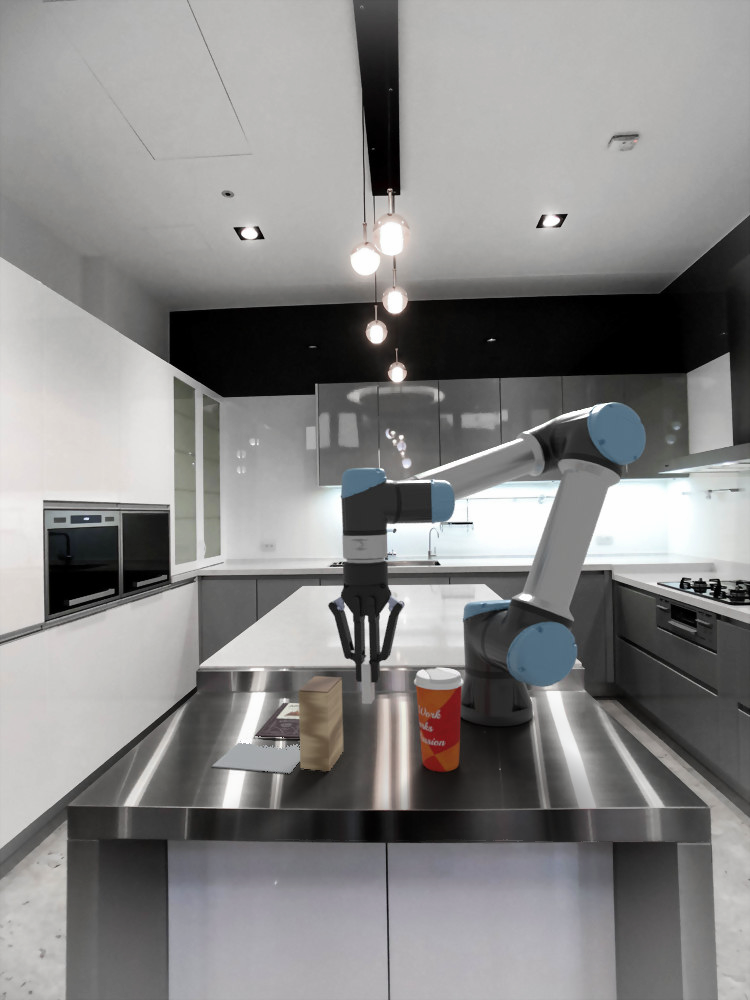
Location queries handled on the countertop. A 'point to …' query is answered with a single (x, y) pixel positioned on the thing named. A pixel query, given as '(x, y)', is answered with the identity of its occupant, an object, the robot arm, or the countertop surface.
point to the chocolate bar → (282, 722)
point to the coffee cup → (439, 717)
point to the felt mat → (260, 758)
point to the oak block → (321, 723)
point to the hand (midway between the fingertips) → (368, 700)
